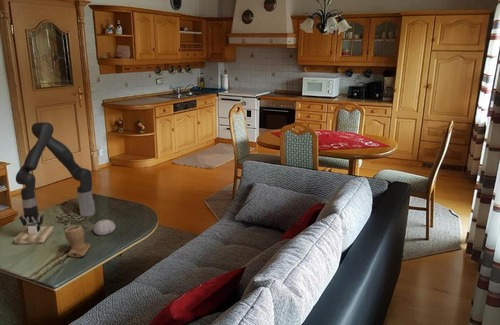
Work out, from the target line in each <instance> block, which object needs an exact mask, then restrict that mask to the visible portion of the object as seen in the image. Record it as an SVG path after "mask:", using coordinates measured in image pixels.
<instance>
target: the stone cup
mask: <svg viewBox="0 0 500 325" xmlns="http://www.w3.org/2000/svg"><path fill="white" fill-rule="evenodd" d="M64 235H65V236H64V237H65V239H66V240H67V243H68V244H69V246H70V250H69V251H68V253H67V256H69V257H70V258H75V257H76V259H77V258H81V257H83V256H85V255H86V253H87V252H88V250H90V249H89V248H90V247H91V244H90V243H85V232H84V229H83V226H82V225H80V224H79V225H73V226H70V227H68V228H66V229H65V230H64Z"/></svg>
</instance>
